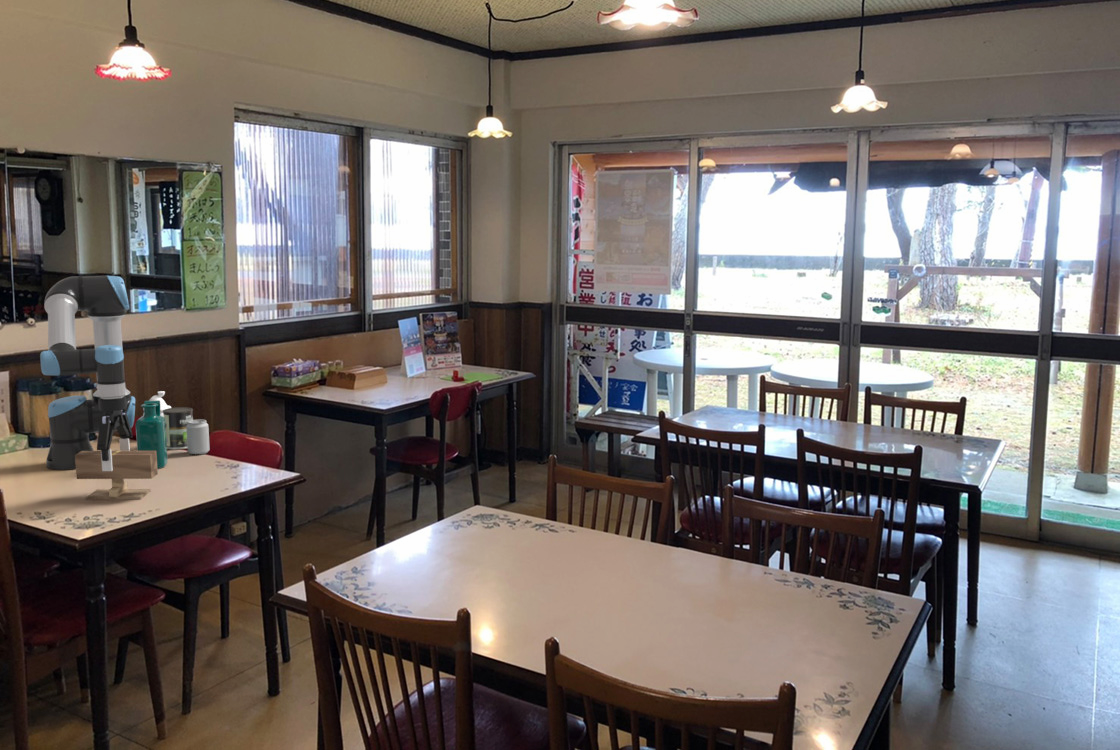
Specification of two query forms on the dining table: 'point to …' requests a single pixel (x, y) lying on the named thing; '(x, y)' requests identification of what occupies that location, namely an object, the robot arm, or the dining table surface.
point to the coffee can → (177, 426)
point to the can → (197, 437)
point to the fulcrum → (118, 492)
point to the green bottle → (152, 432)
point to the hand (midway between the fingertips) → (116, 464)
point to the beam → (117, 465)
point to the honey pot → (162, 402)
